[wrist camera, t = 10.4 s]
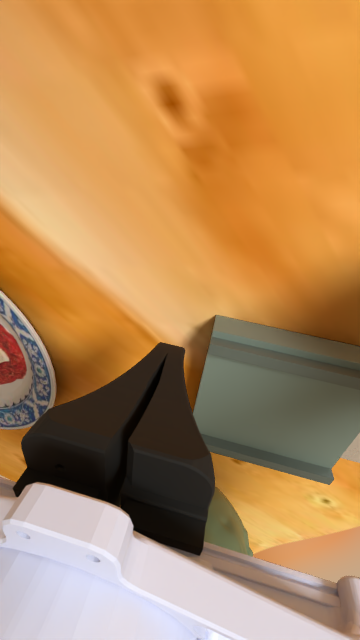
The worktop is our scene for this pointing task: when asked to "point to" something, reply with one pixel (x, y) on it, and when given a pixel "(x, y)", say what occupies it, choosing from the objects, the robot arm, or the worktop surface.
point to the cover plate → (353, 450)
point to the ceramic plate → (22, 370)
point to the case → (278, 398)
